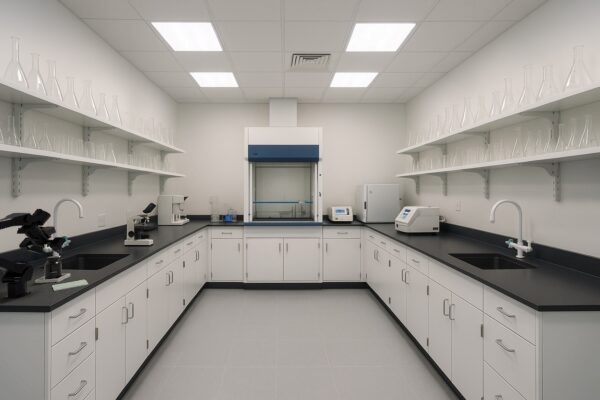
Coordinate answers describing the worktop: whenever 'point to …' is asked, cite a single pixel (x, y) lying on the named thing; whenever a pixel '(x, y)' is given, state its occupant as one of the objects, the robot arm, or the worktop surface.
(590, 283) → the worktop surface
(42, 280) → the white square frame
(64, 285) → the mat
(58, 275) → the supplement bottle
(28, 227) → the robot arm
